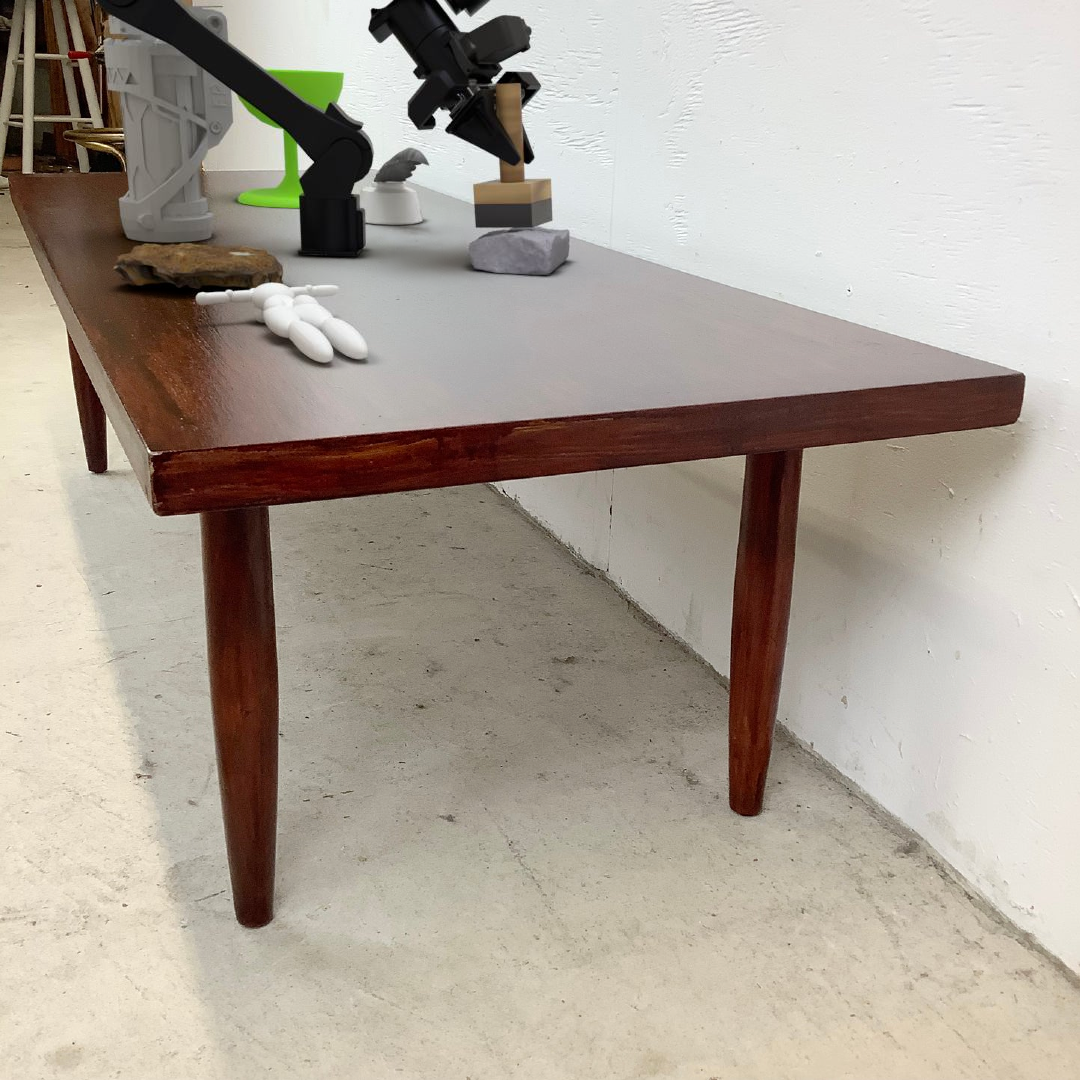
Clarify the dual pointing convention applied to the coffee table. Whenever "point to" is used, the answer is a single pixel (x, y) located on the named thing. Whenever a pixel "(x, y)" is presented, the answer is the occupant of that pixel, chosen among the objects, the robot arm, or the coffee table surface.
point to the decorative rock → (198, 266)
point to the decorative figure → (297, 318)
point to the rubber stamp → (512, 177)
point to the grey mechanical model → (166, 130)
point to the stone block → (520, 250)
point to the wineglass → (314, 90)
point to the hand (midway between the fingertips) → (524, 162)
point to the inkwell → (393, 191)
